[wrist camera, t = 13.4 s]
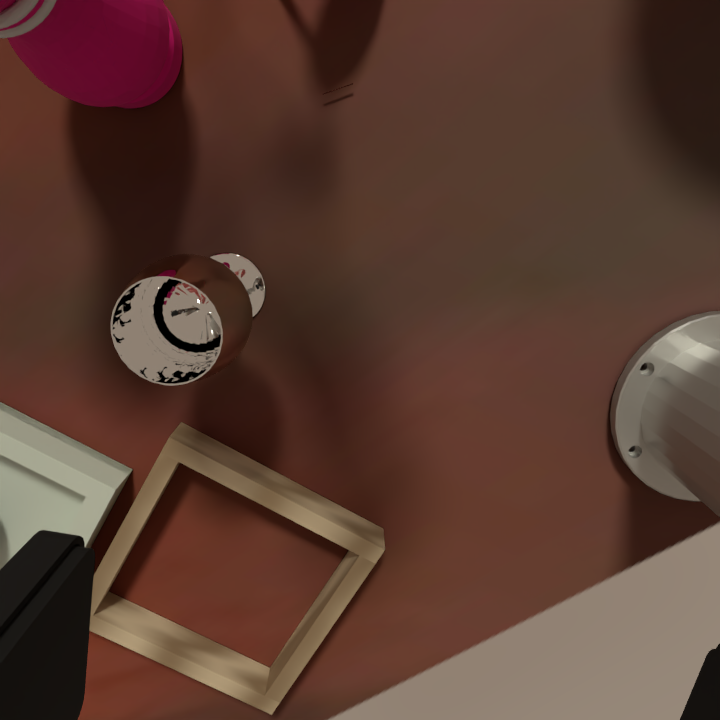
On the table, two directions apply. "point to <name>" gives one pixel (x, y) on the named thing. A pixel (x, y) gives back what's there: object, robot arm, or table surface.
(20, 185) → the table surface
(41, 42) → the pepper mill
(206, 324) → the wineglass
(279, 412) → the table surface
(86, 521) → the sage dish
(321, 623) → the oak frame
